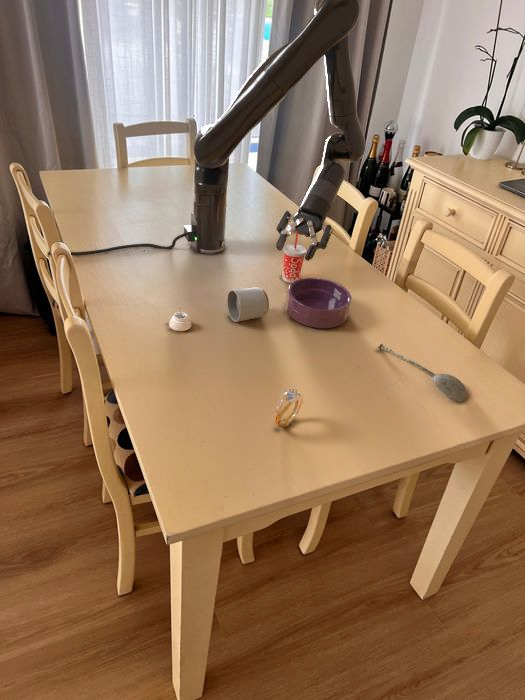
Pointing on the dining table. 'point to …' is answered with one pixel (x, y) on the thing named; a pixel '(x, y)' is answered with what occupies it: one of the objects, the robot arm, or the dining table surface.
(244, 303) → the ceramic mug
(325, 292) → the bowl
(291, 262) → the beverage cup
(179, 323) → the white jar
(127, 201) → the dining table surface
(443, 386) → the soupspoon
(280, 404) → the ring
